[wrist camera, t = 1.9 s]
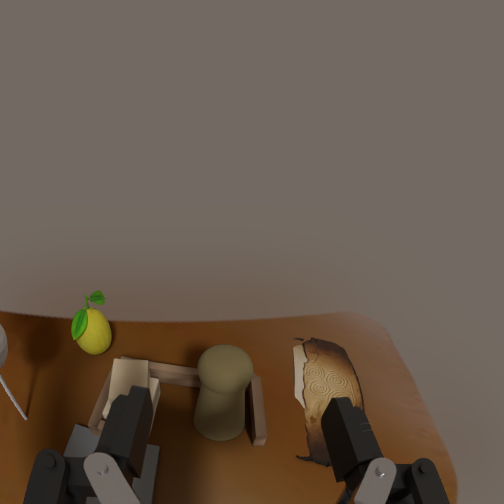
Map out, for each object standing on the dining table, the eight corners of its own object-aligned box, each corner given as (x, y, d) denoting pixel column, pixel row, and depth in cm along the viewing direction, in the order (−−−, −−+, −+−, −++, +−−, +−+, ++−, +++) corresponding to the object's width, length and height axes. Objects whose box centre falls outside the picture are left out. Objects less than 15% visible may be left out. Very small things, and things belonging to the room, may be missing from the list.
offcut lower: (108, 427, 23) (102, 413, 22) (124, 386, 29) (120, 370, 28) (149, 437, 23) (146, 424, 22) (160, 393, 30) (158, 378, 29)
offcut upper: (114, 415, 22) (108, 399, 21) (118, 376, 27) (114, 358, 26) (150, 417, 23) (147, 401, 22) (150, 377, 28) (148, 360, 27)
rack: (93, 436, 21) (87, 425, 20) (120, 368, 32) (117, 355, 31) (265, 461, 23) (269, 451, 22) (257, 385, 34) (260, 373, 33)
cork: (211, 394, 31) (217, 327, 27) (253, 415, 29) (271, 351, 25) (182, 423, 26) (179, 358, 22) (228, 449, 23) (239, 391, 20)
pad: (53, 494, 12) (50, 492, 11) (77, 426, 21) (75, 423, 21) (149, 527, 13) (148, 526, 12) (160, 448, 22) (159, 446, 22)
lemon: (110, 334, 37) (102, 277, 34) (124, 357, 34) (115, 298, 30) (72, 344, 33) (58, 287, 29) (83, 370, 29) (66, 310, 25)
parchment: (292, 336, 45) (293, 332, 45) (346, 342, 45) (347, 338, 44) (292, 468, 22) (294, 465, 22) (373, 465, 22) (376, 462, 21)
